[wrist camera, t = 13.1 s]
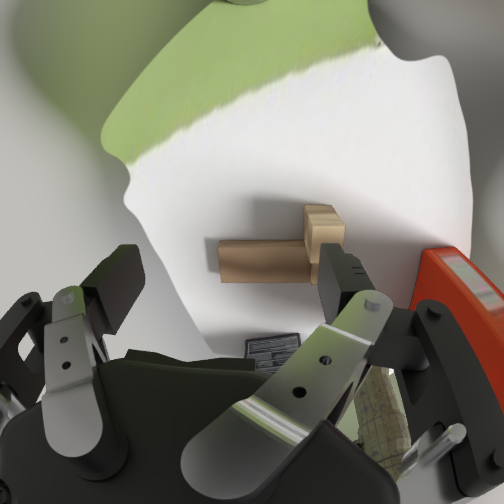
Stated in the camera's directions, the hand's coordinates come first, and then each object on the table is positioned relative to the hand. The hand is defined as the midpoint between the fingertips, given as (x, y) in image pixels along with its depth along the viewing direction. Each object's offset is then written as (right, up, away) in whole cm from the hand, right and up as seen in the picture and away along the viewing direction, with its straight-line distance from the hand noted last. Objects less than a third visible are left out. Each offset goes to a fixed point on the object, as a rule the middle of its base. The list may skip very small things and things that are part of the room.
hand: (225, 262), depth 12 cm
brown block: (+5, 0, +32) cm, 32 cm away
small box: (+6, -18, +41) cm, 45 cm away
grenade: (+25, -22, +42) cm, 53 cm away
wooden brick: (+11, +2, +30) cm, 32 cm away
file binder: (+35, -6, +33) cm, 49 cm away
